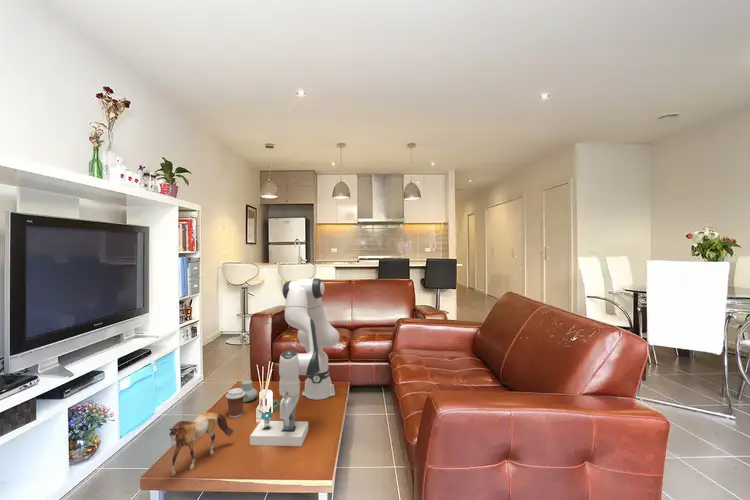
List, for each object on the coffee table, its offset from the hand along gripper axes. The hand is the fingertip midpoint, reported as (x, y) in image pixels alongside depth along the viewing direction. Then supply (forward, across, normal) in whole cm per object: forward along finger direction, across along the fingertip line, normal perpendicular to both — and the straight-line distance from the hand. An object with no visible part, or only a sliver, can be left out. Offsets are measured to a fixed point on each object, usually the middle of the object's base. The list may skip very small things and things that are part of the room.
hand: (290, 419), depth 170 cm
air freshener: (+8, +40, +34) cm, 53 cm away
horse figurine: (+8, -20, +28) cm, 36 cm away
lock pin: (+4, 0, +10) cm, 11 cm away
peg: (+8, 0, 0) cm, 8 cm away
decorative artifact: (+8, +28, +18) cm, 35 cm away
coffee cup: (+8, +22, +33) cm, 41 cm away
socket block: (+8, 0, +4) cm, 9 cm away
